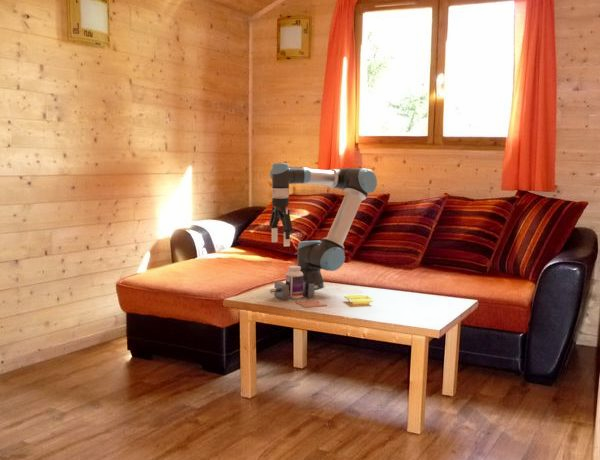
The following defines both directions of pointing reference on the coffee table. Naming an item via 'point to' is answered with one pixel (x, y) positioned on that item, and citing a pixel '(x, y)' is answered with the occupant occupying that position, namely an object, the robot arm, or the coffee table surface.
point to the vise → (283, 290)
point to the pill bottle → (295, 282)
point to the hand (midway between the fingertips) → (280, 244)
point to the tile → (311, 303)
